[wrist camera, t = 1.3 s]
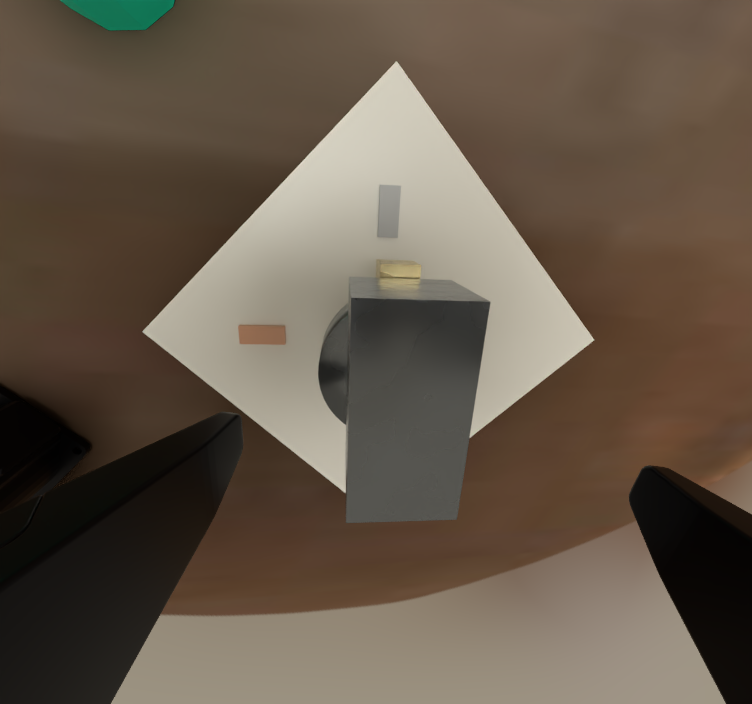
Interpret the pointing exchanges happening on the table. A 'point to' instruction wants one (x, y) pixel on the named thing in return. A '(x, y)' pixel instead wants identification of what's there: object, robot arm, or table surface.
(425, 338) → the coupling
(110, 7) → the candle
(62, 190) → the table surface
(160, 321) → the post plate
